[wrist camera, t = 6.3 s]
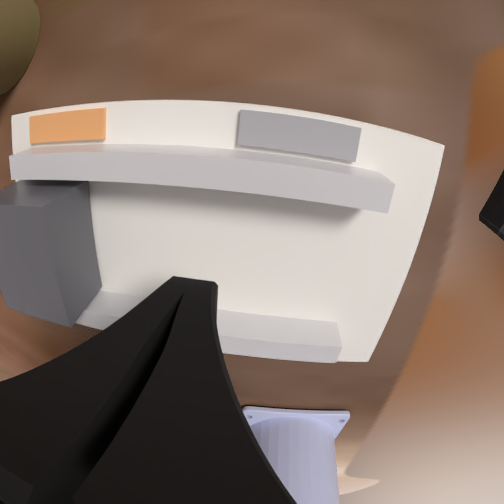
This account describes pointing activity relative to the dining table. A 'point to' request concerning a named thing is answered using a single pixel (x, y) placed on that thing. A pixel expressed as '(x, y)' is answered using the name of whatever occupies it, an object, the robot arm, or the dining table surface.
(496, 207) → the ammunition clip
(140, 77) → the dining table surface
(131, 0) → the dining table surface
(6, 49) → the green chess rook
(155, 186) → the switch board
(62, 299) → the switch tab
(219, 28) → the dining table surface
